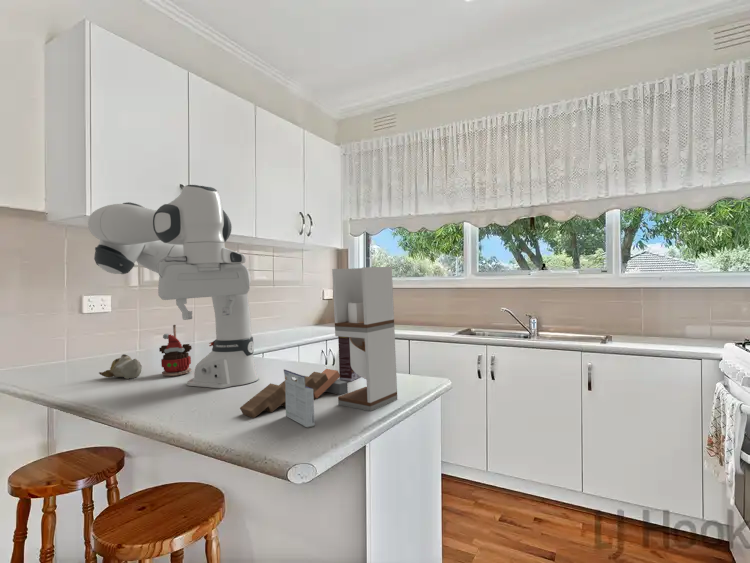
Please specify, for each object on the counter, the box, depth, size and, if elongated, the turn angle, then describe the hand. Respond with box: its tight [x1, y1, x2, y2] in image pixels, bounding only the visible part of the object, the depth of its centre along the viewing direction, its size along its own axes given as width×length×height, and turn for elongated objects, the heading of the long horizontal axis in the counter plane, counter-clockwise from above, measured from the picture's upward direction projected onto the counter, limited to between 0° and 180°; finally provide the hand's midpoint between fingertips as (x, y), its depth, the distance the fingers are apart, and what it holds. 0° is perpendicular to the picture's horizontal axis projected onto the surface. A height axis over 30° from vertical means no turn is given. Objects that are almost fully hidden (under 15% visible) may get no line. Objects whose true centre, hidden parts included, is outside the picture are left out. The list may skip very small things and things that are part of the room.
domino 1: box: [239, 382, 285, 419], centre depth 110 cm, size 2×5×10 cm
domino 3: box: [280, 375, 315, 408], centre depth 118 cm, size 2×5×10 cm
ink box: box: [283, 368, 316, 429], centre depth 102 cm, size 12×2×12 cm, turn 35°
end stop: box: [324, 379, 349, 396], centre depth 127 cm, size 3×10×3 cm, turn 47°
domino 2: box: [263, 380, 286, 414], centre depth 114 cm, size 2×5×10 cm
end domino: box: [313, 368, 340, 400], centre depth 125 cm, size 2×5×10 cm
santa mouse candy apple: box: [158, 324, 193, 377], centre depth 160 cm, size 11×9×18 cm
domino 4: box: [308, 371, 328, 393], centre depth 121 cm, size 2×5×10 cm
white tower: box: [331, 266, 398, 412], centre depth 115 cm, size 11×11×35 cm
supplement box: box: [337, 336, 362, 382], centre depth 142 cm, size 9×5×16 cm, turn 151°
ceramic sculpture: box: [98, 354, 143, 380], centre depth 158 cm, size 11×9×15 cm
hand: (207, 317), depth 100 cm, fingers open, 8 cm apart
